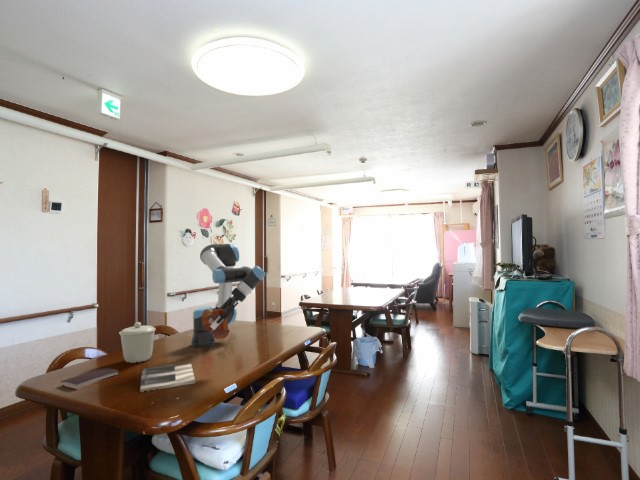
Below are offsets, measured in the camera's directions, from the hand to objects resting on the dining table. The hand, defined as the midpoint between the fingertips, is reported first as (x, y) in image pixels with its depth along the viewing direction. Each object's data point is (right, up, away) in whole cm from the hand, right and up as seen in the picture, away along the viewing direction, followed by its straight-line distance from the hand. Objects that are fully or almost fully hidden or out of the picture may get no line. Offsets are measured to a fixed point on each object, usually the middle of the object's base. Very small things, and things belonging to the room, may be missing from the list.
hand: (210, 326), depth 173 cm
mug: (+3, -7, +1) cm, 7 cm away
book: (-53, -24, -9) cm, 59 cm away
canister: (-46, -24, +20) cm, 56 cm away
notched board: (-17, -22, -9) cm, 29 cm away
